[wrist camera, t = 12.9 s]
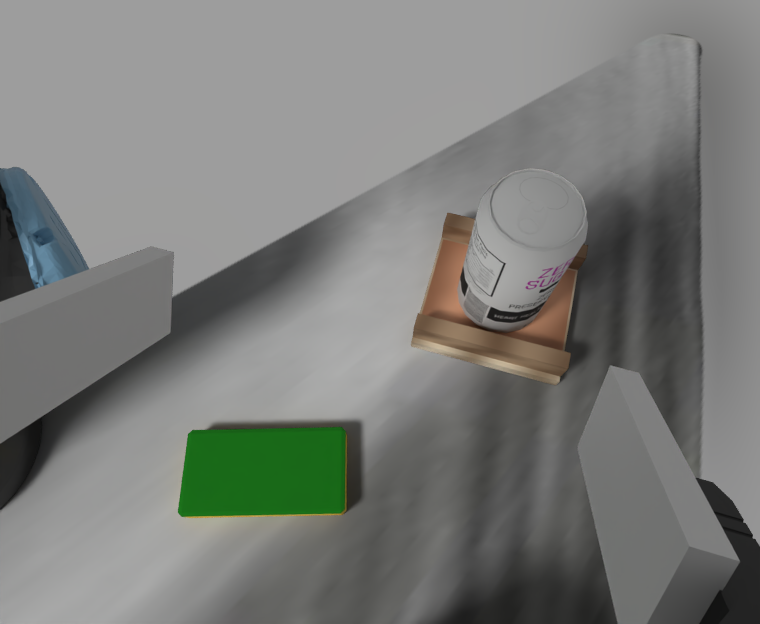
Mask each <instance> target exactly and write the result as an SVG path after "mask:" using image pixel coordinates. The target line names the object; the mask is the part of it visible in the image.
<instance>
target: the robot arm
mask: <svg viewBox="0 0 760 624" xmlns="http://www.w3.org/2000/svg"><path fill="white" fill-rule="evenodd" d="M173 257H174V252H171V251H167V250H163V249H158V248H155V247H149V248H146V249H143V250H140V251H137V252H135V253H132V254H130V255H127V256H124V257H121V258H118V259H116V260H113V261H110V262H108V263H105V264H102V265H99V266H97V267H94V268H91V269H89V268H88V266H87V264H86V262H85V260H84V258H83V256H82V254H81V252H80V250H79V249H78V247H77V245H76V243H75V242H74V240H73V238H72V236H71V235H70V233H69V232H68V230H67V228H66V226H65V225H64V223H63V221H62V220H61V218H60V216H59V215H58V214H57V212H56V210H55V209H54V207H53V206H52V204H51V203H50V201H49V199H48V198H47V197H46V195H45V194H44V192H43V191H42V190H41V188H40V187H39V185H38V184H37V183H36V182H35V180H34V179H33V178H32V177H30V176H29V175H28V174H27V172H26V171H25V170H23V169H21V168H19V167H12V168H9V169H4V168H3V169H1V168H0V508H1V507H2V506H3V505H4V504H5V503H6V502H7V501H8V500H9V499H10V498H11V497H12V496H13V495H14V493H15V492H16V491H17V490H18V488H19V487H20V486H21V484H22V483H23V481H24V480H25V478H26V476H27V475H28V473H29V471H30V469H31V467H32V465H33V463H34V460H35V458H36V455H37V452H38V448H39V444H40V438H41V417H42V416H43V415H45V414H46V413H48V412H50V411H51V410H53V409H54V408H56V407H57V406H59V405H60V404H62V403H63V402H65V401H66V400H68V399H70V398H71V397H73V396H74V395H76V394H77V393H79V392H80V391H82V390H83V389H85V388H86V387H88V386H90V385H91V384H93V383H94V382H96V381H97V380H99V379H100V378H102V377H103V376H105V375H106V374H108V373H110V372H111V371H113V370H114V369H116V368H117V367H119V366H120V365H122V364H123V363H125V362H126V361H128V360H130V359H131V358H133V357H134V356H136V355H137V354H139V353H140V352H142V351H143V350H145V349H146V348H148V347H150V346H151V345H153V344H154V343H156V342H157V341H159V340H160V339H162V338H163V337H165V336H166V335H168V334H170V333H171V309H172V284H173V259H174V258H173ZM577 448H578V453H579V457H580V461H581V466H582V470H583V474H584V479H585V483H586V487H587V492H588V496H589V501H590V505H591V509H592V514H593V518H594V522H595V527H596V531H597V535H598V540H599V544H600V549H601V553H602V557H603V562H604V566H605V570H606V575H607V579H608V583H609V588H610V592H611V597H612V601H613V605H614V610H615V614H616V618H617V623H618V624H760V546H759V545H758V543H757V542H756V540H755V539H753V538H752V536H753V535H752V533H751V531H750V530H749V528H748V526H747V525H746V523H743V518H742V516H741V515H740V513H739V511H738V510H737V508H736V506H735V505H734V503H733V501H732V500H731V499H730V498H729V497H728V496H726V495H725V494H724V493H723V492H722V491H721V490H720V489H719V488H718V487H717V486H716V485H715V484H714V483H713V482H709V481H706V480H702V479H699V478H695V476H694V474H693V473H692V471H691V469H690V467H689V465H688V463H687V461H686V460H685V458H684V456H683V454H682V452H681V450H680V448H679V447H678V445H677V443H676V441H675V439H674V437H673V435H672V434H671V432H670V430H669V428H668V426H667V424H666V422H665V421H664V419H663V417H662V415H661V413H660V411H659V409H658V407H657V406H656V404H655V402H654V400H653V398H652V396H651V394H650V393H649V391H648V389H647V387H646V385H645V383H644V381H643V380H642V378H641V376H640V374H639V373H638V372H634V371H630V370H626V369H622V368H618V367H614V366H611V365H610V367H609V370H608V372H607V375H606V377H605V380H604V382H603V385H602V387H601V390H600V392H599V395H598V397H597V399H596V402H595V404H594V407H593V409H592V412H591V414H590V417H589V419H588V422H587V424H586V427H585V429H584V432H583V434H582V437H581V439H580V442H579V444H578V447H577Z"/></svg>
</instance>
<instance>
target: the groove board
mask: <svg viewBox="0 0 760 624" xmlns="http://www.w3.org/2000/svg"><path fill="white" fill-rule="evenodd" d="M474 222H475V219H473V218H469V217H464V216H460V215H456V214H452V213H447V216H446V219H445V223H444V227H443V233H442V238H441V242H440V245H439V249H438V252H437V256H436V259H435V263H434V266H433V270H432V273H431V276H430V280H429V283H428V287H427V290H426V294H425V297H424V301H423V304H422V307H421V311H420V314H419V313H418V315H417V319H416V322H415V326H414V331H413V338H412V342H411V346H412V347H416V348H419V349H423V350H427V351H431V352H434V353H438V354H442V355H445V356H449V357H453V358H456V359H460V360H464V361H468V362H471V363H475V364H479V365H482V366H486V367H490V368H493V369H497V370H501V371H504V372H508V373H512V374H516V375H519V376H523V377H527V378H530V379H534V380H538V381H541V382H545V383H549V384H553V385H557V384H558V383H559V381H560V376H561V375H562V374H563V373H564V372H565V371H566V370H567V369H568V367H569V361H570V355H571V353H568V352H565V345H566V339H567V333H568V327H569V321H570V315H571V309H572V303H573V297H574V291H575V285H576V279H577V273H578V269H579V268H580V267H581V265H582V264H583V262H584V261H585V259H586V255H587V249H588V245H584V244H583V245H582V247H581V248H580V250H579V251H578V253H577V254H576V256H575V257H574V259H573V261H572V262H571V264H570V265H569V267H568V268H567V270H566V272H565V273H564V275H563V276H562V278H561V279H560V281H559V282H558V284H557V286H556V287H555V289H554V290H553V292H552V293H551V295H550V296H549V298H548V300H547V301H546V303H545V304H544V306H543V307H542V309H541V311H540V312H539V313H538V315H537V316H536V318H535V319H534V321H533V322H532V323H530V324H529V325H527V326H526V327H524V328H522V329H521V330H517V331H512V332H508V333H502V332H493V331H489V330H487V329H485V328H482V327H480V326H478V325H476V324H475V323H474V322H473V321H472V320H471V319H470V318H468V317H467V316H466V315H465V313H464V311H463V309H462V307H461V305H460V304H459V300H458V292H457V288H458V284H459V280H460V276H461V272H462V268H463V265H464V261H465V257H466V253H467V249H468V245H469V241H470V238H471V234H472V230H473V226H474Z"/></svg>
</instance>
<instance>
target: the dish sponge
mask: <svg viewBox="0 0 760 624" xmlns="http://www.w3.org/2000/svg"><path fill="white" fill-rule="evenodd" d="M346 509H347V434H346V431H345V430H344V429H343V428H342V427H321V428H274V429H226V430H192V431H191V432H190V433H189V434H188V439H187V447H186V455H185V462H184V470H183V477H182V485H181V493H180V500H179V508H178V513H179V514H180V515H181V517H187V518H209V517H260V516H310V515H343V514H344V513H345V512H346Z"/></svg>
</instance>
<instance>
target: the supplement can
mask: <svg viewBox="0 0 760 624" xmlns="http://www.w3.org/2000/svg"><path fill="white" fill-rule="evenodd" d="M586 213H587V211H586V207H585V203H584V199H583V197H582V195H581V194H580V192H579V191H578V190H577V188H576V187H575V185H573V184H572V183H571V182H569V181H568V180H567V179H565V178H564V177H563V176H561V175H559V174H556V173H553V172H551V171H548V170H544V169H533V168H528V169H523V170H518V171H514V172H512V173H510V174H508V175H506V176H505V177H503V178H501V179H500V180H499V182H498V183H496V184H494V185H493V186H491V187H490V188H489V190H488V191H487V192H486V193H485V194H484V196H483V197H482V198H481V200H480V204H479V207H478V211H477V215H476V218H475V222H474V226H473V230H472V234H471V238H470V241H469V245H468V249H467V253H466V257H465V261H464V265H463V268H462V272H461V276H460V280H459V284H458V288H457V292H458V300H459V304H460V305H461V307H462V309H463V311H464V313H465V315H466V316H467V317H468V318H470V319H471V320H472V321H473V322H474V323H475V324H476V325H478V326H480V327H482V328H485V329H487V330H489V331H493V332H502V333H508V332H512V331H517V330H521V329H522V328H524V327H526V326H527V325H529V324H530V323H532V322H533V321H534V319H535V318H536V316H537V315H538V313H539V312H540V311H541V309H542V307H543V306H544V304H545V303H546V301H547V300H548V298H549V296H550V295H551V293H552V292H553V290H554V289H555V287H556V286H557V284H558V282H559V281H560V279H561V278H562V276H563V275H564V273H565V272H566V270H567V268H568V267H569V265H570V264H571V262H572V261H573V259H574V257H575V256H576V254H577V253H578V251H579V250H580V248H581V247H582V245H583V243H584V242H585V240H586V235H587V229H588V221H587V217H586Z"/></svg>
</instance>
